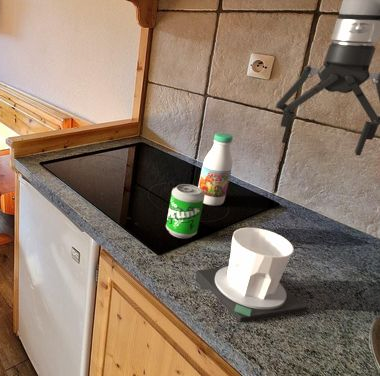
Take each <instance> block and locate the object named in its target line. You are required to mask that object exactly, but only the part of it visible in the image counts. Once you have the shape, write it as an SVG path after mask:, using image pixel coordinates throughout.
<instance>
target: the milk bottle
mask: <svg viewBox="0 0 380 376" xmlns="http://www.w3.org/2000/svg"><path fill="white" fill-rule="evenodd" d="M232 142H233V134H230V133H226V132H217V133H215V134H214V136H213V145H212V147H211V149H210V150H209V151H208V152H207V154H206V156H205V157H204V160H203V162H202V166H201V171H200V175H199V181H198V184H197V185H198V186H197V187H199V188H200V189H201V190H202V192H203V193H204V195H205V197H204V201H203V205H204V204H205V205H208V206H221V205H222V204H224V202H225V199H226V196H227V191H228V186H229V184H230V178H231V173H232V168H233V157H232V154H231V145H232Z"/></svg>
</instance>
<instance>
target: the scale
mask: <svg viewBox="0 0 380 376" xmlns="http://www.w3.org/2000/svg"><path fill="white" fill-rule="evenodd" d="M228 267H229V265H228V266H227V265H226V266H221V267H212V268H205V269H198V270H196V275H195V282H196V283H198V285H199V286H200V287H201V288H202V289H203V290H204V291H208V290H209V291H210V292H211V293H212V294H213V295H214V296H215V297H216V298H217V299H218V300H219V302H220V303H221V304H222V305H223V306H224V307H225V309H227V310H228V312H229V313H231V315H232V316H233V317H234V319H236V321H238V323H244V322H250V321H257V320H261V319H262V320H263V319H267V318H268V319H269V318H273V317H280V316H286V315H292V314H298V313H305V312H307V309H308V306H307V305H306V304H305V303H304V302H303V301H301V300H300V299H299V298H298V297H297V296H296V295H294V294H293V293H292V292H291V291H290V290H289V289H287V288H286V287H285V286H284V285H283V284H282V283H280V282H279V284H278V286H277V288H276V291H275V293H274V294H269V295H267V296H265V297H264V299H261V298H258V297H253V296H244V295H243V294H242V293H241V292H239V291H238V290H236V289H235V288H232V287H230V279H229V278H228V277H227V273H228Z"/></svg>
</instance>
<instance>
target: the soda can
mask: <svg viewBox="0 0 380 376" xmlns="http://www.w3.org/2000/svg"><path fill="white" fill-rule="evenodd" d="M204 197H205V195H204V193H203V192H202V190H201V189H200V188H199V187H198V186H197V185H194V184H190V183H189V184H187V183H182V184H178V185H176V187H173V188H172V190H171V195H170V199H169V200H170V201H169V206H168V213H167V218H166V223H165V228H166V230H167V231H168V233H169V234H170V235H172V236H173V237H176V238H178V239H189V238H192V237H193V236H195V235H197V233H198V229H199V226H200V221H201V220H200V219H201V215H202V211H203V205H204V203H203V201H204Z"/></svg>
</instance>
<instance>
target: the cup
mask: <svg viewBox="0 0 380 376" xmlns="http://www.w3.org/2000/svg"><path fill="white" fill-rule="evenodd" d="M293 253H294V246H293V245H292V243H291V242H290V241H289V240H288V239H286V237H284V236H282V235H280V234H278V233H276V232H274V231H271V230H268V229H264V228H259V227H241V228H238V229H236V230H235V231H234V232H233V233H232V238H231V246H230V256H229V261H228V266H229V267H228V273H227V277H228V278H229V279H230V287H232V288H235V289H236V290H238V291H239V292H241V293H242V294H243V295H244V296H253V297H258V298H261V299H264V297H265V296H267V295H269V294H274V293H275V291H276V288H277V286H278V284H279V283H280V282H281V279H282V277H283V275H284V272H285V270H286V268H287V266H288V264H289V261H290V260H291V257H292V254H293Z"/></svg>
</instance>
